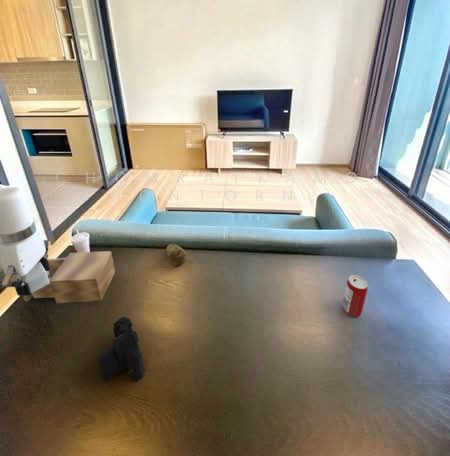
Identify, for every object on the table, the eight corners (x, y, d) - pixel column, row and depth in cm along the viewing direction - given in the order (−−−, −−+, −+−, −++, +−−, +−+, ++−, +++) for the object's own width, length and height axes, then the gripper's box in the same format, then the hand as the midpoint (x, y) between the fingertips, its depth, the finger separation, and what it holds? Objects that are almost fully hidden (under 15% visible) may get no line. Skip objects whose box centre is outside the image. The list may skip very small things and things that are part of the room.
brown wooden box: (56, 303, 82) (48, 281, 78) (75, 273, 94) (70, 252, 90) (101, 301, 82) (96, 279, 79) (115, 271, 94) (111, 251, 91)
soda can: (364, 312, 78) (372, 283, 74) (354, 321, 75) (361, 291, 71) (348, 299, 82) (354, 271, 78) (338, 307, 80) (344, 278, 75)
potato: (187, 249, 105) (186, 233, 102) (187, 272, 93) (186, 255, 90) (167, 251, 104) (165, 235, 101) (165, 275, 92) (163, 258, 89)
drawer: (11, 302, 81) (3, 284, 79) (34, 274, 92) (28, 257, 89) (66, 299, 82) (61, 281, 79) (83, 272, 93) (79, 255, 90)
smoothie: (72, 261, 99) (63, 232, 94) (83, 250, 105) (76, 222, 100) (86, 263, 98) (79, 233, 93) (97, 251, 104) (90, 223, 99)
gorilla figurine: (95, 349, 69) (89, 326, 65) (131, 328, 74) (126, 306, 71) (108, 406, 57) (101, 382, 54) (149, 376, 62) (145, 352, 59)
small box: (21, 284, 72) (16, 271, 70) (44, 273, 76) (40, 260, 74) (26, 296, 68) (21, 283, 67) (50, 283, 72) (46, 270, 71)
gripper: (26, 213, 74) (41, 259, 80) (-27, 255, 57) (-3, 310, 64) (52, 212, 74) (65, 259, 80) (6, 255, 58) (27, 309, 64)
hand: (35, 281), depth 72 cm, fingers closed on small box, 7 cm apart
